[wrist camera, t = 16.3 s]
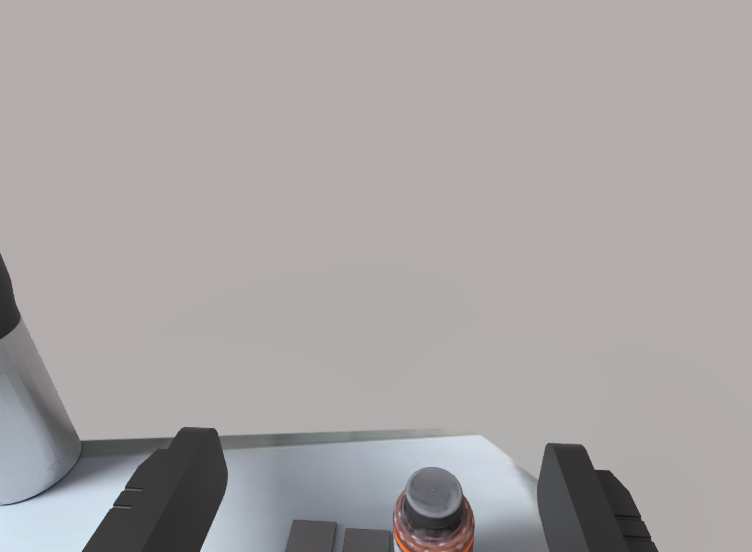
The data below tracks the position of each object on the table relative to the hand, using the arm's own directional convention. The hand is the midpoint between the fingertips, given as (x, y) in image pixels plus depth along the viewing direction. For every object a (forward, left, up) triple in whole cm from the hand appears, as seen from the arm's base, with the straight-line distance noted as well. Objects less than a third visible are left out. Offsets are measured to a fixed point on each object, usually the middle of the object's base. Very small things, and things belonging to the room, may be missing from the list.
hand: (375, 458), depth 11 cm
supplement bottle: (+3, +13, -30) cm, 33 cm away
